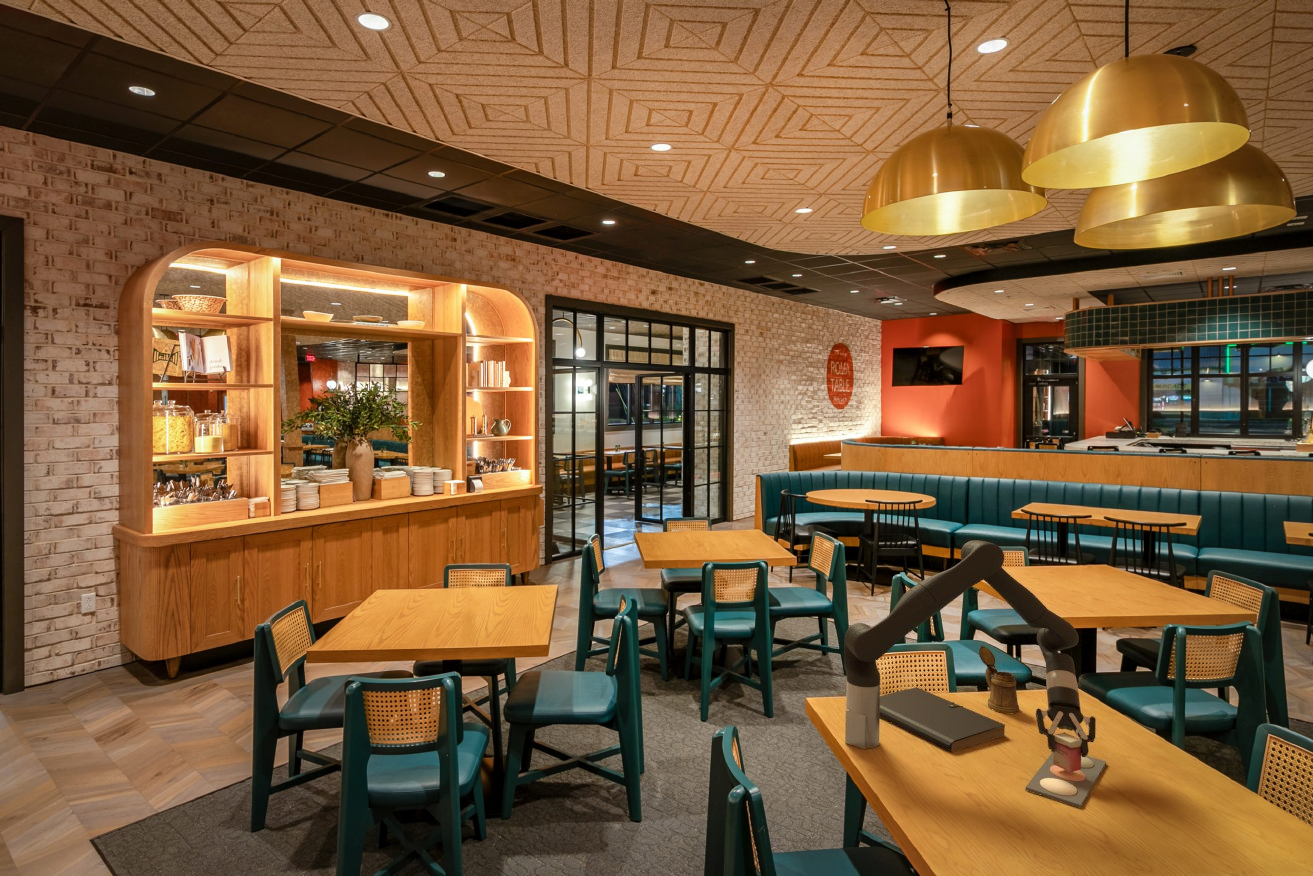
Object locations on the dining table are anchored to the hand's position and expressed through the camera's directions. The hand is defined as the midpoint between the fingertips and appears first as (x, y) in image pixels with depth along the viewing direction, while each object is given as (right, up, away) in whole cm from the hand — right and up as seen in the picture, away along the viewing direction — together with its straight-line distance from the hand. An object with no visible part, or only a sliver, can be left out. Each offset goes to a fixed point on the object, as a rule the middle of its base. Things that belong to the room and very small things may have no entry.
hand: (1068, 753), depth 179 cm
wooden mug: (+5, -6, +48) cm, 48 cm away
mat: (+1, -7, +2) cm, 7 cm away
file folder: (-22, -7, +35) cm, 41 cm away
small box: (+1, -5, +2) cm, 5 cm away
